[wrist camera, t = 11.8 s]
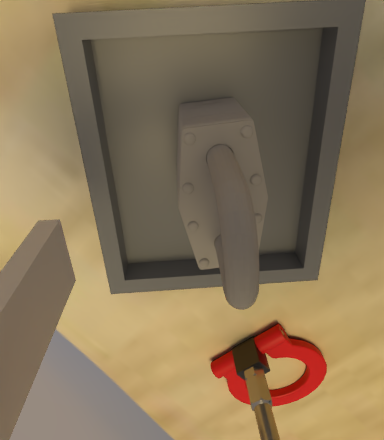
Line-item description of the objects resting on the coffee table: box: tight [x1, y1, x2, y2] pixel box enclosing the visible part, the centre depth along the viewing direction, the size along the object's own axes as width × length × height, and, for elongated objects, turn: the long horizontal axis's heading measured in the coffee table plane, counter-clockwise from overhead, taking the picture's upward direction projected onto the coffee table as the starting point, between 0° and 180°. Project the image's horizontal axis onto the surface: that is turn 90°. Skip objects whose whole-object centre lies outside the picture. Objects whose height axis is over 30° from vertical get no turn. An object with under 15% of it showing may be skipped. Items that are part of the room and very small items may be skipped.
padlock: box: [177, 98, 268, 309], centre depth 15 cm, size 7×4×10 cm, turn 6°
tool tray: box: [53, 0, 366, 294], centre depth 19 cm, size 13×15×2 cm
